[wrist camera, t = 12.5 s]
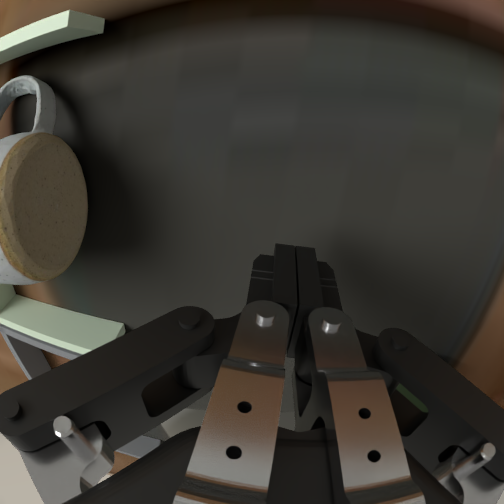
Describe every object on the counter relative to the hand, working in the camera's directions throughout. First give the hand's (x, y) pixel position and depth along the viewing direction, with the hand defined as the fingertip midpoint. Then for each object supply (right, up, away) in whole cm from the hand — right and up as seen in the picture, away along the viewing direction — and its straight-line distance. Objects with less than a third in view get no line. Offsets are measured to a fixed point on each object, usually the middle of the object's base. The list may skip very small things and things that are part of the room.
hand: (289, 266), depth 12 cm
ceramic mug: (-14, +6, +2) cm, 16 cm away
